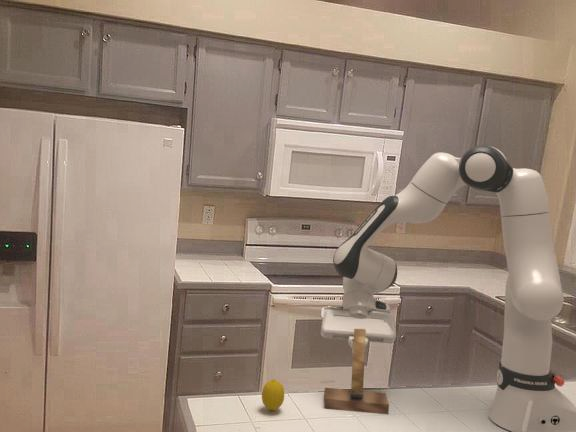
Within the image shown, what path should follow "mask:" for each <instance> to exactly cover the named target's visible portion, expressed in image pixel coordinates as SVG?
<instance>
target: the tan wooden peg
mask: <svg viewBox="0 0 576 432" xmlns="http://www.w3.org/2000/svg"><path fill="white" fill-rule="evenodd" d="M365 333H366V330H365V329H354V342H353V355H352V367H351V385H350V386H351V387H350V390H351V397H359V398H363V391H364V379H365V354H366V347H365Z"/></svg>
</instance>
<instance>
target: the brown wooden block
mask: <svg viewBox="0 0 576 432" xmlns="http://www.w3.org/2000/svg"><path fill="white" fill-rule="evenodd" d="M323 400H324V401H323V403H324V409H328V410H338V411H339V410H340V411H341V410H342V411H350V412H361V413H372V414H374V413H375V414H383V415H388V414H389V408H390V404H389V400H388V397H387V394H386V392H379V391H367V390H363V398H359V397H351V389H343V388H334V387H331V388H330V387H324V395H323Z"/></svg>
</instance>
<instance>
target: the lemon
mask: <svg viewBox="0 0 576 432" xmlns="http://www.w3.org/2000/svg"><path fill="white" fill-rule="evenodd" d="M284 389H285V388H284V386H283V385H282V383H281V382H280V381H279V380H277V379H275V378H273V379H271V380H269V381H266V382H265V384H264V385H263V388H262V391H261V401H262V404H263V406H264V407H265V408H267V409H268V410H270V411H271V412H273V411H276V410H278V409H280V407H281V406H282V405H283V403H284V401H285V390H284Z"/></svg>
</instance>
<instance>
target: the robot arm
mask: <svg viewBox="0 0 576 432" xmlns="http://www.w3.org/2000/svg"><path fill="white" fill-rule="evenodd" d="M463 186H464V187H465V186H468V187H470V188H472V189H475V190H479V191H484V192H485V191H486V192H490V193H495V194H496V196H497V199H498V202H499V208H500V220H501V221H500V222H501V229H502V238H503V248H504V249H503V250H504V253H505V254H504V255H505V258H506V259H505V260H506V265H507V272H508V276H507V279H506V282H505V291H504V293H505V294H504V317H503V318H504V319H503V320H504V321H503V322H504V324H503V340H502V349H501V358H500V361H499V363H498V370H497V375H496V385H497V386H496V387H497V388H496V391H495V396H494V400H493V402H492V404H491V405H492V406H491V408H490V410H489V412H488V418H489V419H490V420H491V422H493V423H494V424H496V425H498V426H499V427H500V428H503V429H505V430H507V431H510V432H576V406H575V404H574V403H573V402H572V401H571V399H569V398H568V397H567V396H566V395H565V394H563V393H562V392H561V390H559V389H558V388H557V387H556V385H557V386H558V387H563V386H564V385H565V384H566V383H565V382H566V381H565V380H564V379H563V378H562V377H561V376H560V375H556V374H555V373H554V372H552V371H551V370H550V368H551V359H552V358H551V357H552V347H553V333H552V331H553V330H552V329H553V328H552V319H553V318H555V317H557V315H558V314H559V313H560V312H561V311H562V309H563V305H564V294H563V287H562V283H561V282H562V280H561V277H560V270H559V266H558V265H559V264H558V261H557V256H556V252H555V248H554V247H555V245H554V239H553V232H552V231H553V229H552V222H551V221H552V220H551V211H550V204H549V203H550V202H549V198H548V193H547V189H546V185H545V182H544V179H543V177H542V175H541V174H540V172H539V171H537V170H534V169H531V168H525V167H524V168H515V167H512V166H511V164H510V162H508V160H507V158H506V156H505V155H504V153H503V152H502V151H501V150H499V149H498V148H496V147H494V146H491V145H485V144H484V145H483V144H482V145H475V146H473V147H470V149H468V150H466V151H465V153H463V155H462V156H461V157H457V156H455V155H452V154H451V153H447V152H439V151H438V152H436V153H435V152H434V154H432V155H431V156H430V157H429V158H428V159H427V160H426V161H425V162H424V163H423V164H422V166H421V167H420V168H419V169H418V170H417V172H416V173H415V175H414V176H413V177H412V179H411V180H410V181H409V183H408V184H407V185H406V187H405V188H403V189H402V190H401V191H400V192H398V193H397V194H394V195H389V196H387V197H386V198H384V200H382V201H381V202H380V203H379V204H378V205H377V206H376V207H375V208H374V210H372V212H371V213H370V214H369V215H368V216H367V218H365V220H364V221H363V222H362V223H361V224H360V225H359V227H358V228H356V230H355V231H354V232H353V233H352V235H350V236H349V238H347V239H346V240H344V241H343V242H342V243H341V244H340V245H339V246H338V247H337V249H336V250H335V252H334V255H333V258H332V262H333V266H334V269H335V271H336V272H337V274H338V275H339V276H340V277H342V288H343V295H342V303H341V304H342V306H336V305H335V306H334V305H333V306H332V305H326V306H325V307H323V308H321V309H320V318H321V320H322V321H321V328H320V335H321V337H323V338H324V339H334V340H335V339H336V340H343V341H344V340H346V341H347V344H348V345H349V346H350V348H351V349H352V350H351V352H352V353H351V354H352V356H353V342H354V329H365V330H366V333H365V348H366V347H367V346H368V343H380V344H393V343H394V341H396V338H397V327H396V323H395V318H394V316H393V315H392V314H391V305H390V304H389V303H387V302H383V301H381V300H379V299H377V298H374V295H375V294H378V293H381V292H383V291H385V290H387V289H389V288H391V287H392V286H393V285H395V283H396V281H397V278H398V266H397V263H396V261H395V259H393V258H391V257H390V256H387V255H386V254H384V253H381V252H379V251H376V250H373V249H371V248H369V246H370V245H371V244H372V242H373V241H374V240H375V239H376V238H377V237H378V236H379V235H380V234H381V233H382V231H383V230H384V229H386V228H387V227H388V226H391V225H394V224H404V223H405V224H425V223H426V224H427V223H429V222H433V220H435V219H436V218H437V217H439V215H440V214H441V213H442V212H443V210H444V208H445V207H446V206H447V205H448V203H449V201H450V200H451V198H452V197H453V195H454V194H455V193H456V192H457V190H458V189H461V187H463Z"/></svg>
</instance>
